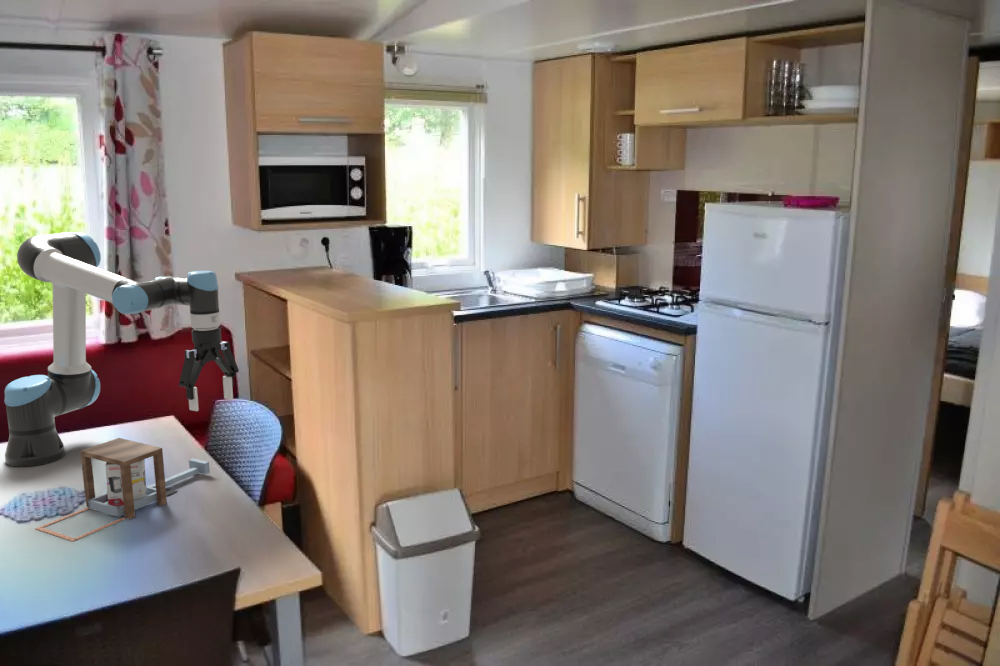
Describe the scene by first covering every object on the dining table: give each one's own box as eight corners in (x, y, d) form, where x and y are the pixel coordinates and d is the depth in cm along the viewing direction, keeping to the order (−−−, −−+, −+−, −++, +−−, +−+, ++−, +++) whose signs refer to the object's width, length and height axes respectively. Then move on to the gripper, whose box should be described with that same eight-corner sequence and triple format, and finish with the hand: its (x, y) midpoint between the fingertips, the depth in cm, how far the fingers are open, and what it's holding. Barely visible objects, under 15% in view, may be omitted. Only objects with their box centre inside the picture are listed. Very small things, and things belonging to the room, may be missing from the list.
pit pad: (138, 491, 214) (138, 490, 214) (153, 485, 218) (153, 484, 218) (162, 498, 210) (162, 497, 210) (177, 491, 214) (177, 490, 214)
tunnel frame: (86, 506, 205) (80, 450, 202) (124, 491, 214) (119, 437, 211) (129, 519, 197) (124, 461, 194) (166, 503, 207) (162, 447, 204)
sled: (88, 507, 202) (86, 495, 202) (187, 467, 229) (186, 456, 228) (118, 516, 197) (117, 504, 197) (216, 474, 224) (215, 463, 223)
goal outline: (35, 529, 192) (35, 528, 192) (88, 507, 204) (88, 507, 204) (72, 541, 186) (72, 540, 186) (125, 518, 198) (125, 518, 198)
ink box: (108, 510, 203) (103, 465, 200) (111, 502, 207) (106, 458, 205) (146, 506, 205) (142, 461, 203) (148, 498, 210) (144, 454, 207)
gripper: (180, 337, 211) (186, 417, 215) (248, 321, 232) (253, 395, 236) (159, 334, 214) (166, 413, 219) (229, 319, 235) (234, 392, 239)
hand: (211, 404), depth 227 cm, fingers open, 12 cm apart
